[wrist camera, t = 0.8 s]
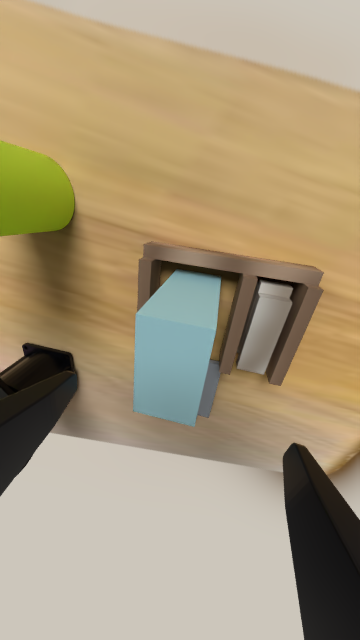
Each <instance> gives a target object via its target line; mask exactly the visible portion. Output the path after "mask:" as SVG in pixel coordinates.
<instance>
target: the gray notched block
mask: <svg viewBox="0 0 360 640" xmlns="http://www.w3.org/2000/svg"><path fill="white" fill-rule="evenodd" d="M292 290H293V288H292V287H291V286H290V285H288V284H283V283H277V282H271V281H266V280H259V282H258V281H257V284H256V287H255V290H254V294H253V297H252V301H251V304H250V307H249V311H248V314H247V318H246V321H245V325H244V328H243V331H242V335H241V338H240V342H239V345H238V349H237V353H238V358H237V361H236V364H237V369H241V370H246V371H250V372H254V373H259V374H263V375H264V373H265V370H266V368H267V365H268V363H269V360H270V358H271V355H272V353H273V350H274V348H275V345H276V343H277V341H278V338H279V336H280V333H281V331H282V328H283V326H284V323H285V321H286V318H287V316H288V313H289V311H290V308H291V306H292V301H291V300H290V295H291V293H292Z"/></svg>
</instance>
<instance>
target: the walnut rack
mask: <svg viewBox="0 0 360 640" xmlns="http://www.w3.org/2000/svg"><path fill="white" fill-rule="evenodd" d="M161 260H164V261H170V262H176V263H182V264H188V265H194V266H200V267H206V268H212V269H219V270H225V271H231V272H237V273H240V275H239V279H238V283H237V287H236V291H235V295H234V299H233V303H232V307H231V311H230V315H229V319H228V323H227V327H226V331H225V335H224V339H223V343H222V347H221V351H220V361H219V372H220V373H225V374H229V375H230V372H231V369H232V366H233V362H234V359H235V355H236V352H237V349H238V345H239V342H240V338H241V335H242V331H243V328H244V325H245V321H246V318H247V314H248V311H249V307H250V304H251V301H252V297H253V294H254V290H255V287H256V284H257V280H258V279H257V276H261V277H267V278H273V279H279V280H285V281H291V282H294V284H293V287H292V288H293V290H292V293H291V295H290V300H291V301H292V306H291V308H290V311H289V313H288V316H287V318H286V321H285V323H284V326H283V328H282V331H281V333H280V336H279V338H278V341H277V343H276V345H275V348H274V350H273V353H272V355H271V358H270V360H269V363H268V365H267V368H266V373H267V377H268V381H269V383H270V384H274V385H279V386H281V384H282V382H283V380H284V377H285V375H286V373H287V371H288V368H289V366H290V364H291V362H292V359H293V357H294V355H295V353H296V351H297V348H298V346H299V344H300V342H301V339H302V337H303V335H304V333H305V330H306V328H307V326H308V324H309V321H310V319H311V317H312V315H313V313H314V310H315V308H316V306H317V304H318V301H319V299H320V297H321V295H322V292H323V289H321V288H320V287H319V286H318V285H319V283H320V281H321V278H322V276H323V274H324V272H322V271H321V270H319V269H317V268H316V267H313V266H307V265H301V264H294V263H288V262H281V261H275V260H268V259H262V258H255V257H249V256H242V255H236V254H230V253H223V252H217V251H210V250H204V249H197V248H191V247H184V246H178V245H171V244H165V243H159V242H152V241H151V242H149V243H146V244H144V253H143V258H141V259H139V273H138V307H137V312H138V311H139V310H140V309H141V308H142V307H143V305H144V304H145V303H146V302H147V301H148V300H149V299H150V298H151V297H152V296H153V295H154V293H155V292H156V291H157V290H158V289H159V285H160V272H161Z"/></svg>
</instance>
